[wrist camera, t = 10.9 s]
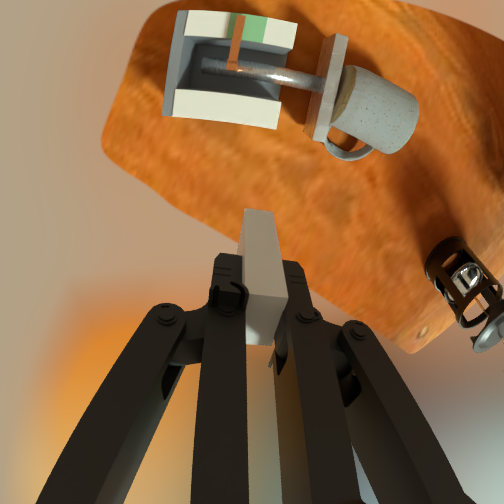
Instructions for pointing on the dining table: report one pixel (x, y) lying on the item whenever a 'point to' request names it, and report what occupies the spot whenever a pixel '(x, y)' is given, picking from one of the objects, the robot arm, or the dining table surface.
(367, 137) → the ceramic mug
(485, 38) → the dining table surface
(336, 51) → the plunger
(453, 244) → the french press
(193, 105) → the grey bracket housing
